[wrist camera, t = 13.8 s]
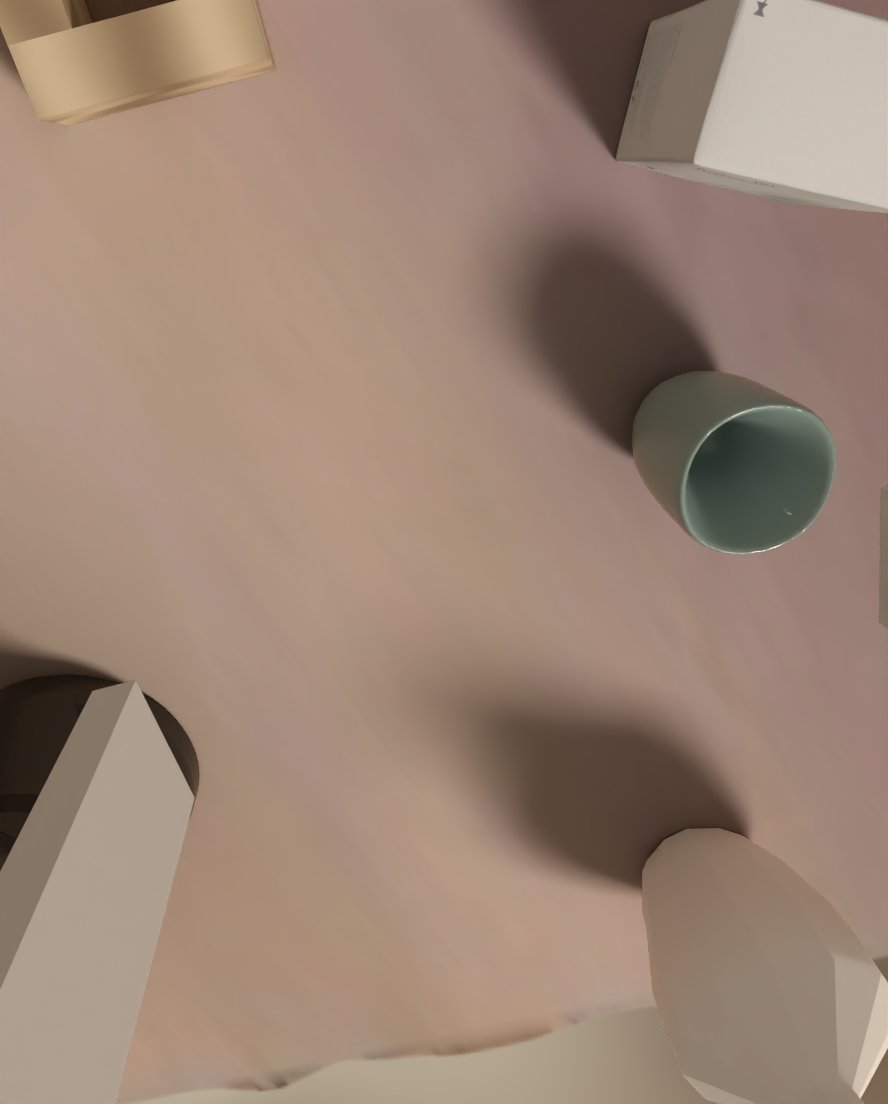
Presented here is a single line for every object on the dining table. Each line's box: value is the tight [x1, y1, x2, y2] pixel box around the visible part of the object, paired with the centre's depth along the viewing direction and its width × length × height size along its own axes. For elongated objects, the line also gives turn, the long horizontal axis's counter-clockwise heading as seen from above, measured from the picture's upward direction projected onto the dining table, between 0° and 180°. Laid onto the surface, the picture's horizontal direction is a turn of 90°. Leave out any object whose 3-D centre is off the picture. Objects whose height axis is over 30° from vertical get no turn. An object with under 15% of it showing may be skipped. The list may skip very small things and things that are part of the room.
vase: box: [642, 828, 888, 1104], centre depth 51 cm, size 14×14×25 cm
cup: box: [632, 371, 836, 554], centre depth 42 cm, size 8×8×10 cm
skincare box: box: [616, 0, 888, 213], centre depth 35 cm, size 10×6×10 cm, turn 79°
